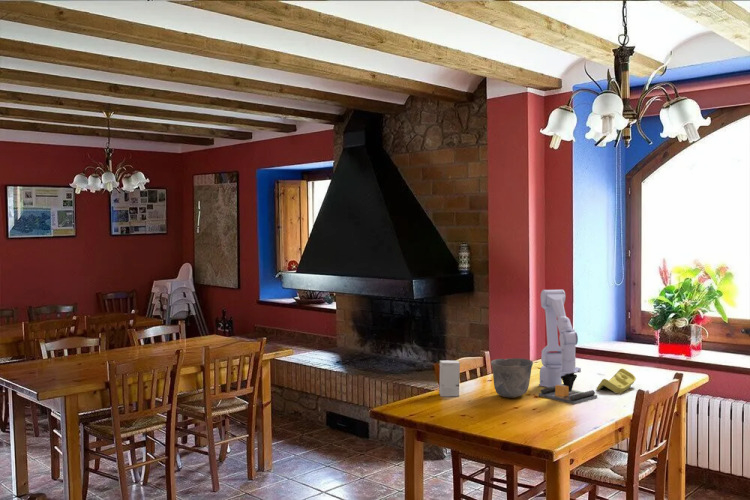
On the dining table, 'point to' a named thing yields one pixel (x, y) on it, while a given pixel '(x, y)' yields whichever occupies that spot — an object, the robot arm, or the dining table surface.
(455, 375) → the skincare box
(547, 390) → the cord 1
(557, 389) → the toggle
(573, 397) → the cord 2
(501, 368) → the gray stone pot
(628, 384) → the plastic component
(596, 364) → the dining table surface
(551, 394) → the panel
